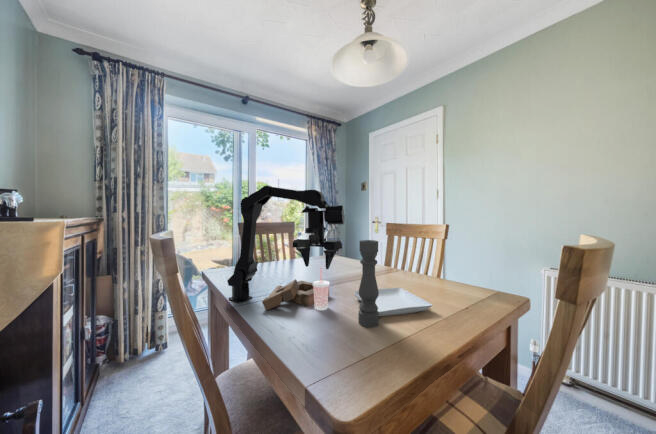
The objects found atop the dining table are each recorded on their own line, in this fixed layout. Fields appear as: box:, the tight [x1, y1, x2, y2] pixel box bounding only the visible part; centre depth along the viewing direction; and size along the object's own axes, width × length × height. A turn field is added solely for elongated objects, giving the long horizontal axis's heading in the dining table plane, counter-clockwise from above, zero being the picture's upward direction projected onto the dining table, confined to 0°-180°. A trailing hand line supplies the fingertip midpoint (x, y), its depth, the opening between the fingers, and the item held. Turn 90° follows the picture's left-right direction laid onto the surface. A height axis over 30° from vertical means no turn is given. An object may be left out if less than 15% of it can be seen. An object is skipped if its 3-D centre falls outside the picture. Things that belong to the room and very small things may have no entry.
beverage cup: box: [311, 268, 331, 311], centre depth 87 cm, size 6×6×14 cm
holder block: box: [279, 280, 330, 307], centre depth 98 cm, size 15×13×4 cm
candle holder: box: [357, 239, 380, 328], centre depth 75 cm, size 6×6×25 cm
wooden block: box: [261, 279, 299, 312], centre depth 93 cm, size 4×11×18 cm
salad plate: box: [352, 287, 433, 317], centre depth 89 cm, size 21×21×3 cm
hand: (316, 267), depth 89 cm, fingers open, 9 cm apart
